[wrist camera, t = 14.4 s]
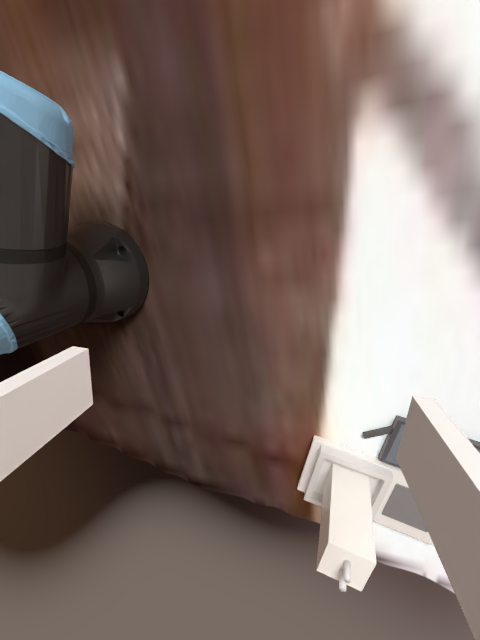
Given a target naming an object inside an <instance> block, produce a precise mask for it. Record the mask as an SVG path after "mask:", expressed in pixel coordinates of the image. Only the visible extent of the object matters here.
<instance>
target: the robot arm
mask: <svg viewBox="0 0 480 640" xmlns="http://www.w3.org/2000/svg"><path fill="white" fill-rule="evenodd" d="M74 167H75V163H74V161H73V126H72V123H71V120H70V118H69V116H68V115H67V113H66V112H65V111H64V110H63V109H62V108H61V107H60V106H59V105H58V104H57V103H55V102H54V101H52V100H51V99H49V98H48V97H46V96H45V95H43V94H41V93H40V92H38V91H36V90H35V89H33V88H31V87H29V86H28V85H26V84H24V83H22V82H20V81H19V80H17V79H15V78H13V77H11V76H9V75H7V74H6V73H4V72H2V71H0V354H4V353H11V352H13V351H15V350H17V349H19V348H22V347H24V346H26V345H29V344H31V343H34V342H36V341H39V340H41V339H43V338H46V337H48V336H51V335H53V334H56V333H58V332H61V331H63V330H65V329H68V328H70V327H73V326H75V325H77V324H80V323H83V322H115V321H119V320H122V319H124V318H126V317H128V316H130V315H132V314H134V313H135V312H136V311H138V310H139V308H140V307H141V306H142V304H143V303H144V301H145V298H146V295H147V292H148V285H149V278H148V270H147V265H146V262H145V259H144V257H143V254H142V252H141V250H140V249H139V247H138V246H137V244H136V243H135V241H134V240H133V239H132V238H131V237H130V236H129V235H128V234H127V233H126V232H124V231H123V230H122V229H120V228H118V227H117V226H114V225H112V224H108V223H102V222H96V223H84V224H80V225H77V226H75V227H73V228H71V229H69V230H68V219H69V207H70V195H71V183H72V171H73V168H74ZM91 405H93V398H92V386H91V373H90V361H89V349H88V348H81V347H74V346H72V347H70V348H68V349H66V350H64V351H62V352H60V353H58V354H56V355H54V356H52V357H50V358H48V359H46V360H44V361H42V362H40V363H38V364H36V365H34V366H32V367H30V368H28V369H26V370H24V371H22V372H20V373H18V374H16V375H14V376H12V377H10V378H8V379H6V380H4V381H2V382H0V481H1V480H3V479H4V478H5V477H6V476H8V475H9V474H10V473H11V472H12V471H13V470H15V469H16V468H17V467H18V466H20V465H21V464H22V463H23V462H24V461H25V460H27V459H28V458H29V457H30V456H31V455H33V454H34V453H35V452H36V451H38V450H39V449H40V448H41V447H42V446H43V445H45V444H46V443H47V442H48V441H50V440H51V438H53V437H54V436H55V435H57V434H58V433H59V432H60V431H61V430H63V429H64V428H65V427H66V426H67V425H69V424H70V423H71V422H72V421H73V420H75V419H76V418H77V417H78V416H79V415H81V414H82V413H83V412H84V411H85V410H87V409H88V408H89V407H90V406H91ZM396 459H397V461H398V464H399V466H400V468H401V471H402V473H403V475H404V478H405V480H406V482H407V484H408V487H409V489H410V491H411V494H412V496H413V498H414V500H415V503H416V505H417V507H418V510H419V512H420V514H421V516H422V519H423V521H424V523H425V526H426V528H427V530H428V532H429V535H430V537H431V539H432V542H433V544H434V546H435V549H436V551H437V553H438V555H439V558H440V560H441V562H442V565H443V567H444V569H445V571H446V574H447V576H448V578H449V581H450V583H451V585H452V587H453V590H454V592H455V594H456V597H457V599H458V601H459V604H460V606H461V608H462V610H463V613H464V615H465V617H466V619H467V622H468V624H469V626H470V629H471V631H472V633H473V636H474V638H475V640H480V453H479V452H478V451H477V449H476V448H475V447H474V446H473V445H472V443H471V442H470V441H469V440H468V439H467V437H466V436H465V435H464V434H463V432H462V431H461V430H460V429H459V428H458V426H457V425H456V424H455V423H454V422H453V420H452V419H451V418H450V417H449V416H448V414H447V413H446V412H445V411H444V409H443V408H442V407H441V406H440V405H439V403H438V402H437V401H436V400H435V399H429V398H422V397H415V396H412V400H411V404H410V407H409V411H408V415H407V419H406V422H405V426H404V430H403V434H402V438H401V441H400V445H399V449H398V453H397V456H396Z"/></svg>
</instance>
